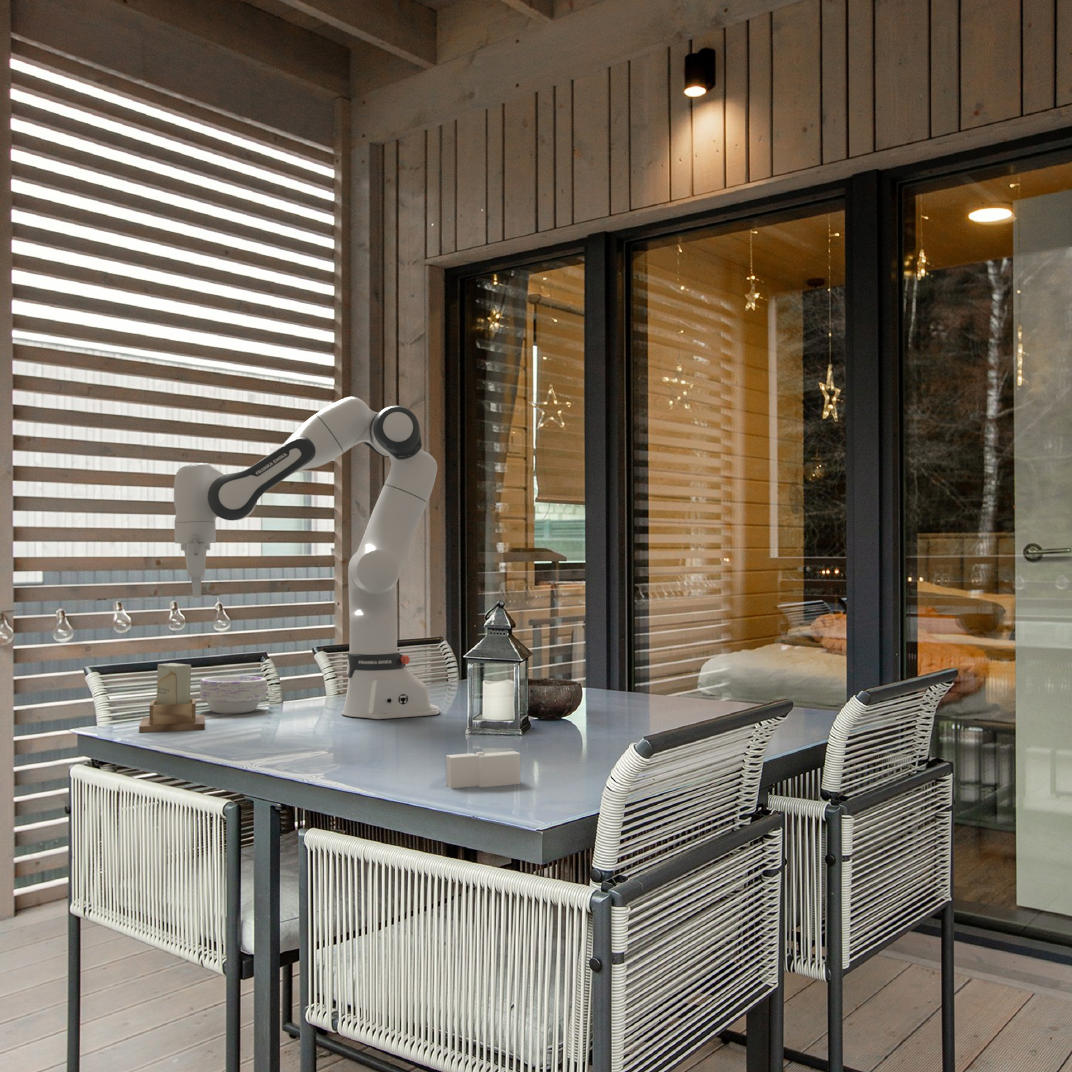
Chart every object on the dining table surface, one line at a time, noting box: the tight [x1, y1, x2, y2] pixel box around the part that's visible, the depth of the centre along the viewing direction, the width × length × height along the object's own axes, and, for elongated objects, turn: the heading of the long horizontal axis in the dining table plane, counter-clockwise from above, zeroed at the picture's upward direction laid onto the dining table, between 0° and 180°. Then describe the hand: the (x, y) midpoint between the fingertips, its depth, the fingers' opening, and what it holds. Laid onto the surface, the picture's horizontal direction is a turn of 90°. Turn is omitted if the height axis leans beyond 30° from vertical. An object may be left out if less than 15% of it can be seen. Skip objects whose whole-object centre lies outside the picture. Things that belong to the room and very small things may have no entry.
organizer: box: [138, 698, 206, 733], centre depth 228 cm, size 13×13×5 cm
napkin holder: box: [445, 750, 521, 789], centre depth 171 cm, size 15×11×6 cm
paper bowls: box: [199, 675, 268, 715], centre depth 251 cm, size 15×15×8 cm
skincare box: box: [156, 662, 192, 705], centre depth 229 cm, size 6×4×12 cm
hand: (196, 596), depth 238 cm, fingers open, 8 cm apart
